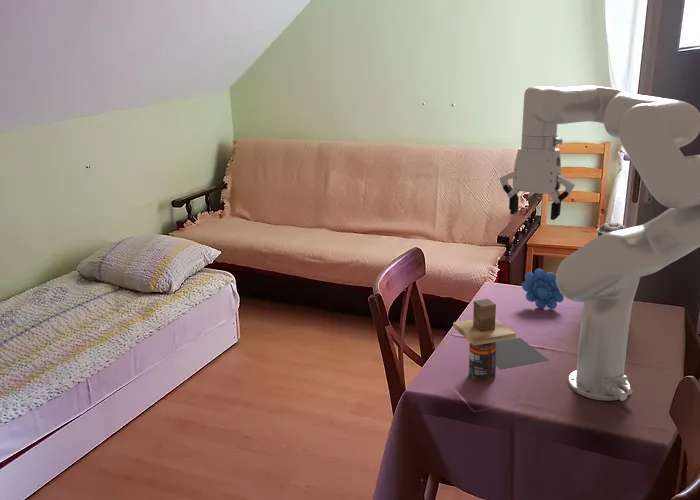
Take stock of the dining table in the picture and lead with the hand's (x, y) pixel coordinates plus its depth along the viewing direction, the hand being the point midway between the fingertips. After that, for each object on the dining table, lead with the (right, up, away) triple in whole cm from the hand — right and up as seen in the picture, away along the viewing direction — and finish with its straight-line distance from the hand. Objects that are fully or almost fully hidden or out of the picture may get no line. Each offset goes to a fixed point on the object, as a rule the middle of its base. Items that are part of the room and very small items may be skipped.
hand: (533, 215), depth 148 cm
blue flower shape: (+11, -25, +31) cm, 42 cm away
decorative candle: (+28, -25, +29) cm, 48 cm away
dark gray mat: (-4, -33, +6) cm, 34 cm away
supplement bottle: (-13, -37, -4) cm, 40 cm away
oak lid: (-13, -26, -8) cm, 31 cm away
